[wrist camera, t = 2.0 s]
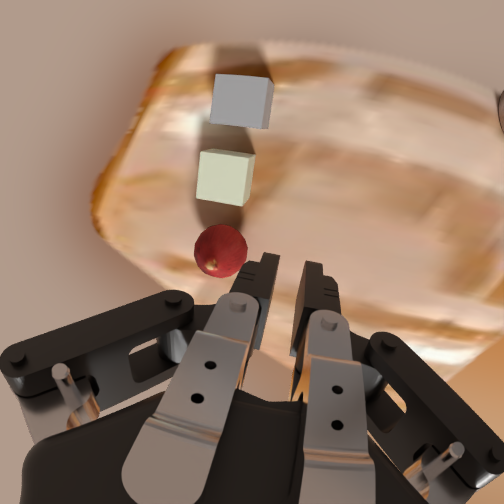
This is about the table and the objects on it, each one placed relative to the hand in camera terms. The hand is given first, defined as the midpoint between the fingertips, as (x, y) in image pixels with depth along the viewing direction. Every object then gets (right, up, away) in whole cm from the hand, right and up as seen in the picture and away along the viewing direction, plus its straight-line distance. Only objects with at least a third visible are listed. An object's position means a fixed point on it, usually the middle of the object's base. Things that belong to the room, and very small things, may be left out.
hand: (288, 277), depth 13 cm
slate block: (-2, +17, +16) cm, 24 cm away
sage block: (-4, +10, +20) cm, 23 cm away
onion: (-4, +3, +23) cm, 24 cm away
